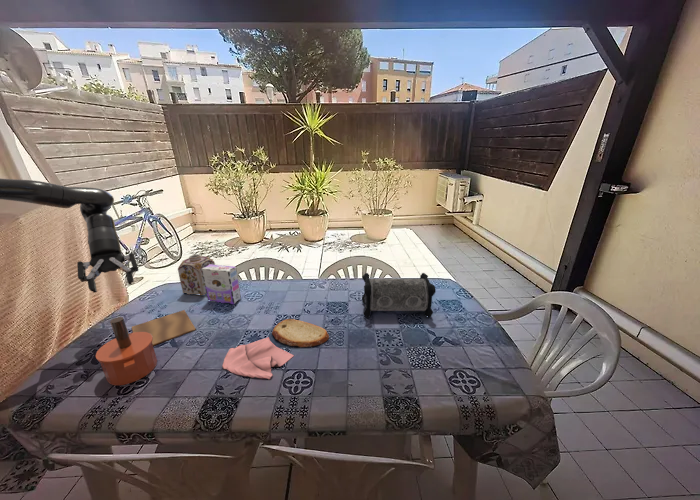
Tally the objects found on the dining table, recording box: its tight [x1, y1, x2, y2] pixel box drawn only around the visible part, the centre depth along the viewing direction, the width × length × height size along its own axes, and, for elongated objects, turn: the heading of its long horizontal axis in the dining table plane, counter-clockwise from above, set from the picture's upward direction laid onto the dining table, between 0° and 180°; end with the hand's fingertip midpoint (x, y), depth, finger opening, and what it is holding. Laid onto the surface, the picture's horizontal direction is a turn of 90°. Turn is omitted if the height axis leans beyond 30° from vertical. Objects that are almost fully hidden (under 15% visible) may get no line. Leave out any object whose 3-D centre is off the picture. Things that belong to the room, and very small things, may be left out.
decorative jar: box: [177, 254, 216, 296], centre depth 131 cm, size 12×12×18 cm
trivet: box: [131, 309, 197, 347], centre depth 104 cm, size 18×18×1 cm
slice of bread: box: [271, 318, 330, 348], centre depth 100 cm, size 18×18×4 cm
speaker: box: [361, 272, 437, 319], centre depth 115 cm, size 15×29×15 cm, turn 90°
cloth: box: [221, 336, 295, 380], centre depth 88 cm, size 20×22×2 cm
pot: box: [99, 343, 158, 386], centre depth 83 cm, size 12×18×8 cm
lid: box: [95, 316, 153, 363], centre depth 80 cm, size 13×13×10 cm
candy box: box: [202, 264, 242, 305], centre depth 122 cm, size 14×6×16 cm, turn 77°
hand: (112, 287), depth 84 cm, fingers open, 8 cm apart
